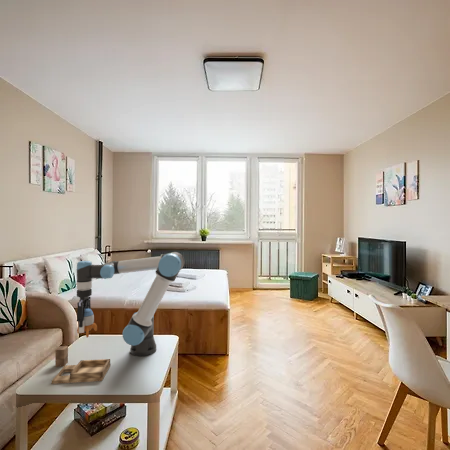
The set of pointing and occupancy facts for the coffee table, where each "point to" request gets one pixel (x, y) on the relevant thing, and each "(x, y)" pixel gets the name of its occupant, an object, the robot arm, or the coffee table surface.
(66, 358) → the block
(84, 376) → the tray
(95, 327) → the toy rocket
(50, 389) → the coffee table surface
